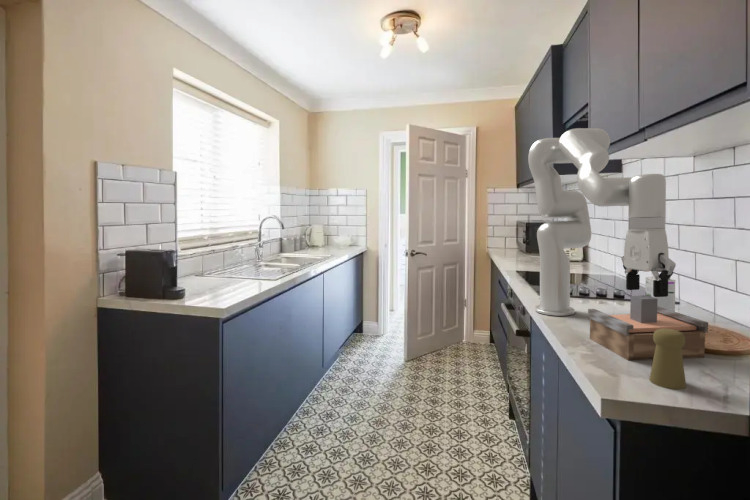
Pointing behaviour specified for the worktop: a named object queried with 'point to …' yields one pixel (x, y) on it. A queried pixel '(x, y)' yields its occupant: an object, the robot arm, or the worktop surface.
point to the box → (643, 336)
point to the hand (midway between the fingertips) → (645, 292)
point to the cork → (668, 359)
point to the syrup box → (662, 301)
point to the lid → (650, 317)
